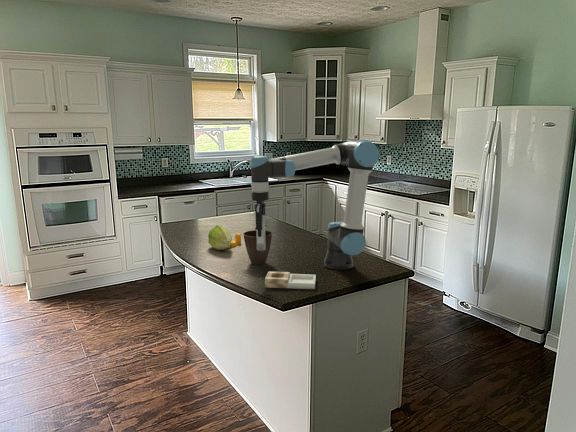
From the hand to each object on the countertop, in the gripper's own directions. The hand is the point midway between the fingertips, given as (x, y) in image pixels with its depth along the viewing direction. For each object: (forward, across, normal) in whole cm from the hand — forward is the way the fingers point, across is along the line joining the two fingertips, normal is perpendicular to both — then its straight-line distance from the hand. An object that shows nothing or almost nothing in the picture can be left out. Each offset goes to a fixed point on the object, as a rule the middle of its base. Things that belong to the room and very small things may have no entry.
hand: (261, 241), depth 195 cm
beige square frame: (+18, +4, +8) cm, 21 cm away
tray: (+18, +3, +19) cm, 27 cm away
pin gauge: (+4, 0, 0) cm, 4 cm away
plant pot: (+19, -26, -6) cm, 32 cm away
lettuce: (+18, -46, -31) cm, 58 cm away
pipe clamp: (+19, -57, -27) cm, 66 cm away
